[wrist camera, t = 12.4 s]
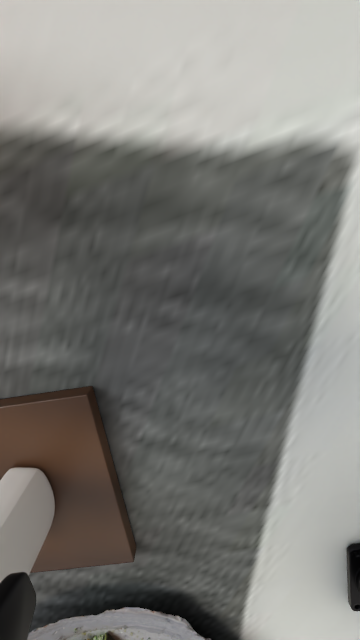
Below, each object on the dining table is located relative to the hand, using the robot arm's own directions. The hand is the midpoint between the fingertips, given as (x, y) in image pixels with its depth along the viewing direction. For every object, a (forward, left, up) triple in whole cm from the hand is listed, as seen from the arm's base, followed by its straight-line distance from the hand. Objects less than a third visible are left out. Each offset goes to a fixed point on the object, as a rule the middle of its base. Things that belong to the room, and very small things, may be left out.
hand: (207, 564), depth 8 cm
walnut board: (-8, +13, -13) cm, 20 cm away
